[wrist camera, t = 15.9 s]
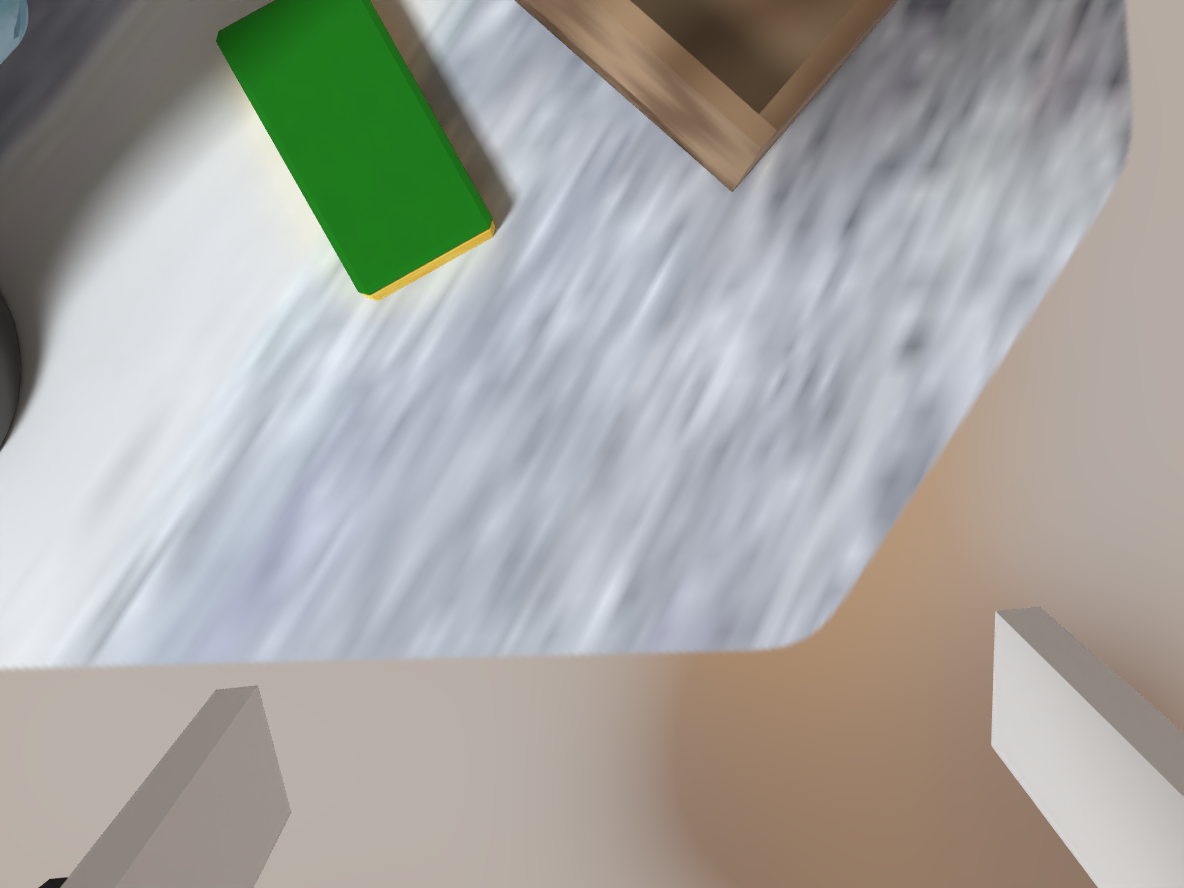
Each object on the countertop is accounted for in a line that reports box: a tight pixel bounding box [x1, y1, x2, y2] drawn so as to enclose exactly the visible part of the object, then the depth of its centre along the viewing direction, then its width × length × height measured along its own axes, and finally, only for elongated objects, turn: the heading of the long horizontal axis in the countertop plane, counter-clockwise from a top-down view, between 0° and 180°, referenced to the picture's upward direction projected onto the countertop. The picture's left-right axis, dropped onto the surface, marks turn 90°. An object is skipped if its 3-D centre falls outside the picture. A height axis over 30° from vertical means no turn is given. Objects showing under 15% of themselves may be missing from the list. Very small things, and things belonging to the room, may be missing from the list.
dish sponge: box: [216, 0, 496, 301], centre depth 38 cm, size 7×14×2 cm, turn 29°
